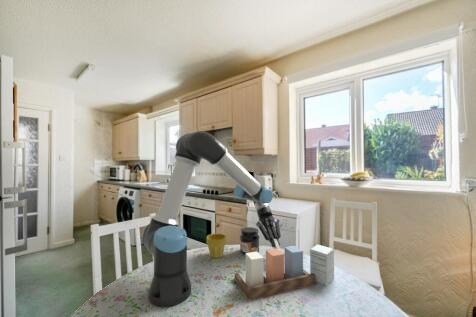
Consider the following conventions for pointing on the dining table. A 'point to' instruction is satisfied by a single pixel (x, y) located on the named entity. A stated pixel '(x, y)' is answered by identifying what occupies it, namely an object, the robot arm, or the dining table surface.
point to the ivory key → (254, 269)
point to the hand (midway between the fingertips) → (278, 253)
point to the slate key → (293, 261)
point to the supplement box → (322, 263)
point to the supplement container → (249, 240)
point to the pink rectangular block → (274, 265)
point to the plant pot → (216, 244)
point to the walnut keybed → (275, 285)
